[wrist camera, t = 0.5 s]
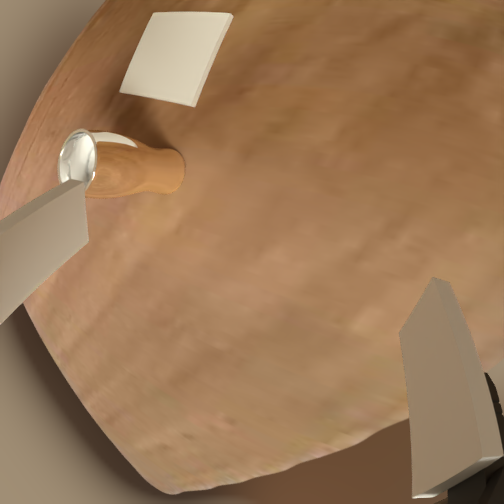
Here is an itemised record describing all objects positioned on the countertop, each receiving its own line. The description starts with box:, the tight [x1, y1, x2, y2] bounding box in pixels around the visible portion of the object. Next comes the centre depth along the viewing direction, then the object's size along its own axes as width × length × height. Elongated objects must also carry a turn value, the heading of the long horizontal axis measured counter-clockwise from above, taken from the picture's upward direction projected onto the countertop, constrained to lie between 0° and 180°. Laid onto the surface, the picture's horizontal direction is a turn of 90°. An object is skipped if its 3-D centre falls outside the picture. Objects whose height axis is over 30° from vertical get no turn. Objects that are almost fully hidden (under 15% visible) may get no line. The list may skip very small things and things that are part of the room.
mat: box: [119, 12, 233, 107], centre depth 36 cm, size 14×14×1 cm
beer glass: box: [58, 129, 185, 199], centre depth 32 cm, size 7×7×15 cm
